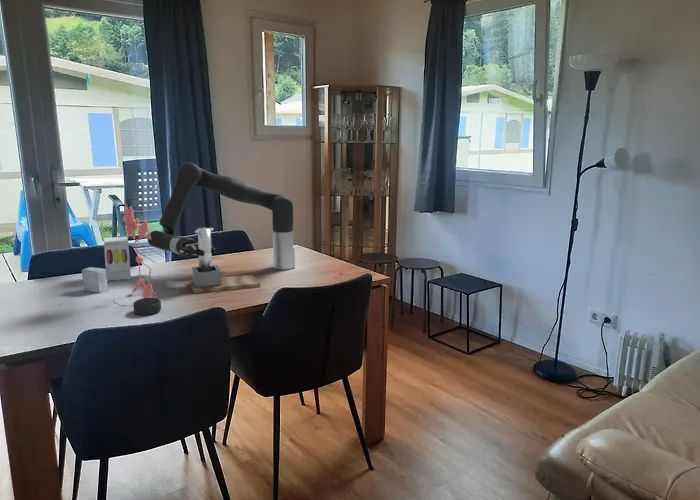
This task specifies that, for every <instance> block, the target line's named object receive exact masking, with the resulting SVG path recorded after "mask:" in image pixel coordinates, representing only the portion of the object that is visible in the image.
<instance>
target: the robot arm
mask: <svg viewBox="0 0 700 500" xmlns="http://www.w3.org/2000/svg"><path fill="white" fill-rule="evenodd" d="M195 186H196V187H200V188H204V189H207V190H209V191H212V192H214V193H217V194H218V195H219V196H220V195H221V196H223V197H225V198H227V199H230V200H233V201H237V202H240V203H242V204H248V205H255V206H260V207H263V208H266V209H268V210H270V211H271V212H272V215H271V216H272V257H273V259H272V260H273V262H272V263H273V264H272V265H273V269H275V270H281V271H282V270H285V271H286V270H291V269H295V268H296V267H295V266H296V262H295V261H296V260H295V259H296V258H295V257H296V256H295V254H296V252H295V251H296V250H295V247H294V204H293V202H292V201H293V200H292V199H291V198H290V197H289V196H287V195H285V194H280V193H276V192H273V191H268V190H265V189H262V188H260V187H258V186H256V185H254V184H251V183H249V182H247V181H244V180H240V179H237V178H235V177H231V176H227V175H222V174H216V173H213V172H210V171H208V170H206V169H204V168H201V167H199V166H198V165H197V164H195V163H193V162H185V163H183V164H181V165H180V166H179V168H178V173H177V179H176V181H175V184H174V188H173V191H172V193H171V194H170V198H169V200H168V201H167V204H166V206H165V208H164V211H163V212H162V215H161V217H160V219H159V225H160V226H161V227H163V228H164V232H163V231H160V230H152V231H151V232H149V233H150V236H151V240H150V239H148V238H147V237H146V238H147V243H148V245H150V246H151V247H153V248H155V249H156V248H157V249H159V250H162V251H168V252H172V253H175V254H177V255H180V256H184V257H192V256H198V257H199V256H204V250H200V249H198V241H196V240H195V239H193V238H191V237H187V236H183V235H176V234H175V233H176V227H177V225H178V223H179V221H180V219H181V215H182V213H183V211H184V207H185V204H186V201H187V199H188V197H189V194H190V192H191V190H192V189H193V187H195ZM147 236H148V237H149V235H148V234H147ZM211 249H212V255H215V254H216V253H217V249H216V248H215V247H214V245H213V244H211Z"/></svg>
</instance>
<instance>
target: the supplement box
mask: <svg viewBox="0 0 700 500" xmlns="http://www.w3.org/2000/svg"><path fill="white" fill-rule="evenodd" d="M103 239H104V240H103V244H104V245H103V248H104V249H103V250H104V263H105V269H106V277H107V282H110V281H109V280H115V281H120V280H119V279H127V280H130V279H129V278H131V279H132V276H131V275H132V274H131V261H130V260H131V258H130V248H129V247H130V246H129V237H128V236H121V237H120V236H119V237H118V236H114V237H104V238H103Z"/></svg>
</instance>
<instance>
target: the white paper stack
mask: <svg viewBox="0 0 700 500" xmlns="http://www.w3.org/2000/svg"><path fill="white" fill-rule="evenodd" d="M81 277H82V284H83V286H82V287H83V291H84V292H90V291H91V293H98V294H99V293H100V294H101V293H103V291H104V292H106V291H108V290H109V287H108V281H107V277H106V268H101V267H93V266H92V267H91V266H90V267H86V268H83V269H82V270H81Z"/></svg>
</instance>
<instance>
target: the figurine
mask: <svg viewBox="0 0 700 500" xmlns="http://www.w3.org/2000/svg"><path fill="white" fill-rule="evenodd" d="M122 221H123V223H124V225H125V230H124V233H126V234H127V238H132V239H133V240H135V239H136V231H137V235H138V237H139V238H138V239H137V240H135V241H134V242H133V245H134V248H135V253H136V257H135V262H137V263H138V271H139V272H138V273H139V274H138V275H139V280H138V282H137V283H136V285H135V286H134V288H133V289H132V292H131V294H135V292H136V291H137V290H138V289H139V287H141V284H142V286H143V291H142V299H143V298H151V295H153V296H154V298H157V299H159V298H158V296H157V294H156V293H155V291H154V290H153V285H152V284H151V283H150V281H151V273H152V272H151V271H152V268H151V267H150V266H149V265H147V264H146V263H144V257H143V256H142V255H139V252H138V248H137V244H136V243H137V242H139V241H141V240H142V239H144V237H145V238H148V239H150V240H151V236H150V233H151V232H150V230H149V224H148V221H147V220H144V221H143V222H142V223H141V224H140V221H139V217H137V218H135V217H134V211H133V208H132V206H131V205H130V206H129V208H128V206H127V205H124V214H123V215H122ZM135 230H136V231H135ZM148 235H149V237H148ZM141 264H142V265H144V266H146V267H147V268H148V269H149V272H148V274H149V275H148V283H147V284H145V283H144V278H143V277H141V266H140V265H141ZM114 300H115V297H114V299H113V303H114V304H116V305H119V306H121V304H120V303H118V302H116V301H114ZM122 307H126V304H125V305H124V304H122Z"/></svg>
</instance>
